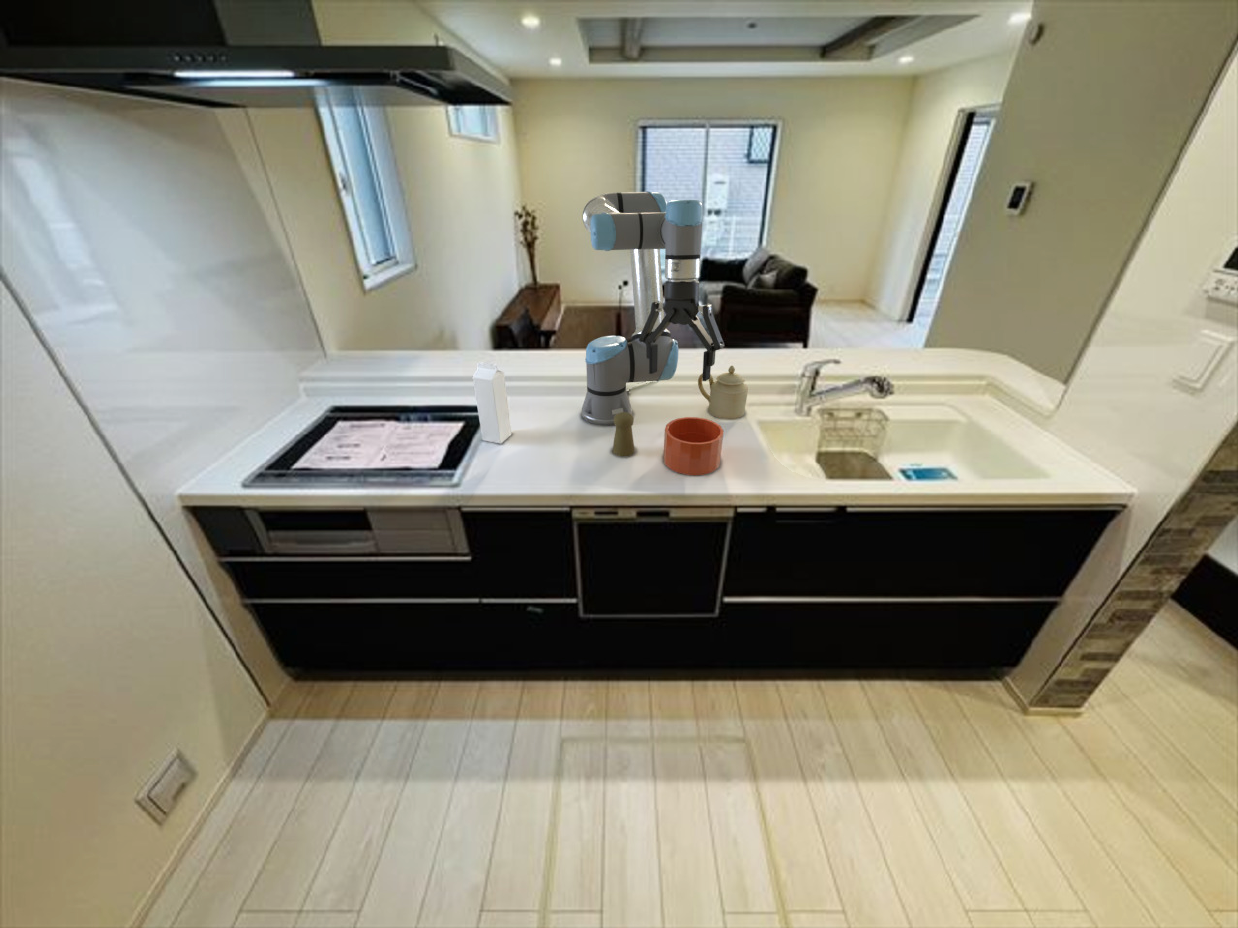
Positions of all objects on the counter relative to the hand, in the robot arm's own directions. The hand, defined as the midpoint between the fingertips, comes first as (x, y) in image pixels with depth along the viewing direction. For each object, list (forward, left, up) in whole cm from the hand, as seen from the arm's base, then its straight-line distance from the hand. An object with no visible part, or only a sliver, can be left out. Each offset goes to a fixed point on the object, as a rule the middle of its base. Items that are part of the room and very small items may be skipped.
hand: (679, 376), depth 121 cm
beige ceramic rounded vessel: (-32, +16, -25) cm, 44 cm away
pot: (-2, +5, -24) cm, 25 cm away
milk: (-12, -49, -25) cm, 56 cm away
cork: (-6, -13, -25) cm, 29 cm away
